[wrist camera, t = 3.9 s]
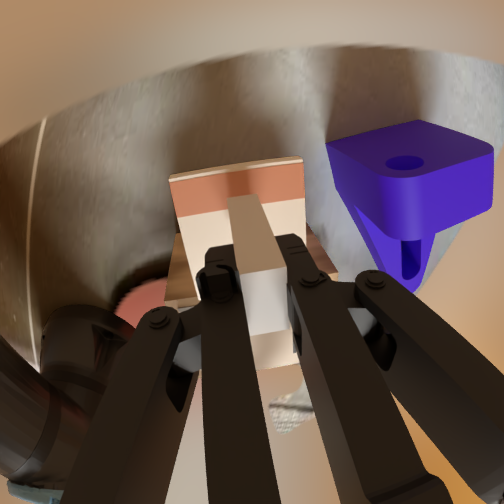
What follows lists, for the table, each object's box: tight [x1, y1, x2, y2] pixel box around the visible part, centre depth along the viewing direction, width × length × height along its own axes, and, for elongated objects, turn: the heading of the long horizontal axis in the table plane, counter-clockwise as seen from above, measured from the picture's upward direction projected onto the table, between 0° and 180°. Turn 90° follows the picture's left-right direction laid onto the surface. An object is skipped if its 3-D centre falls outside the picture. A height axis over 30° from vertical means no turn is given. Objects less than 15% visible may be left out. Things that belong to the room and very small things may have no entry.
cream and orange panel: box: [169, 156, 306, 300], centre depth 17 cm, size 7×8×1 cm
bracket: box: [325, 120, 494, 293], centre depth 25 cm, size 18×11×12 cm, turn 18°
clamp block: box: [164, 222, 338, 378], centre depth 26 cm, size 12×9×11 cm
